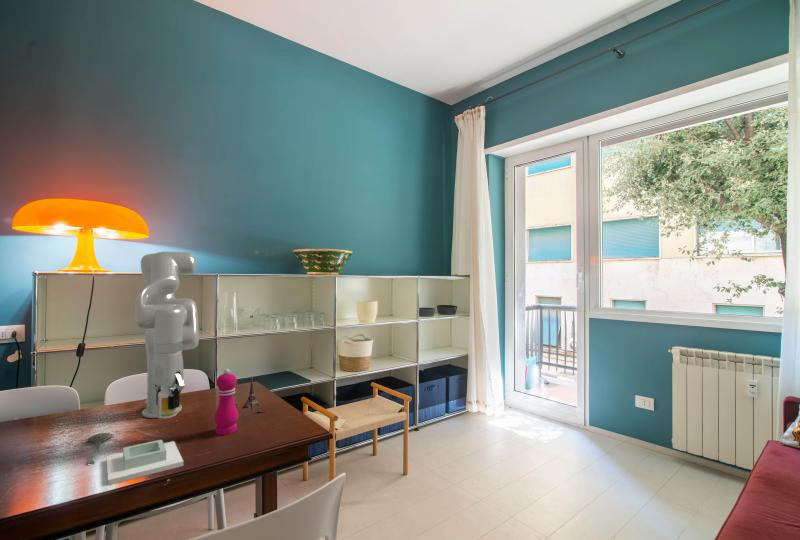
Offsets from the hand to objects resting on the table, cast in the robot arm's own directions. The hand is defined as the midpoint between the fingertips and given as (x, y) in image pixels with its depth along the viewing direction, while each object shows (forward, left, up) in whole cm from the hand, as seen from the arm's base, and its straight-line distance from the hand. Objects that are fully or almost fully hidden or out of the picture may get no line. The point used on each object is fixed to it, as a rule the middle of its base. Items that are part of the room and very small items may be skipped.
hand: (167, 405), depth 123 cm
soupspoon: (-10, -15, -11) cm, 21 cm away
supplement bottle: (0, 0, -3) cm, 3 cm away
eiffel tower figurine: (-1, +32, -11) cm, 34 cm away
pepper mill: (+11, +13, -10) cm, 20 cm away
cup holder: (+11, -12, -10) cm, 19 cm away
